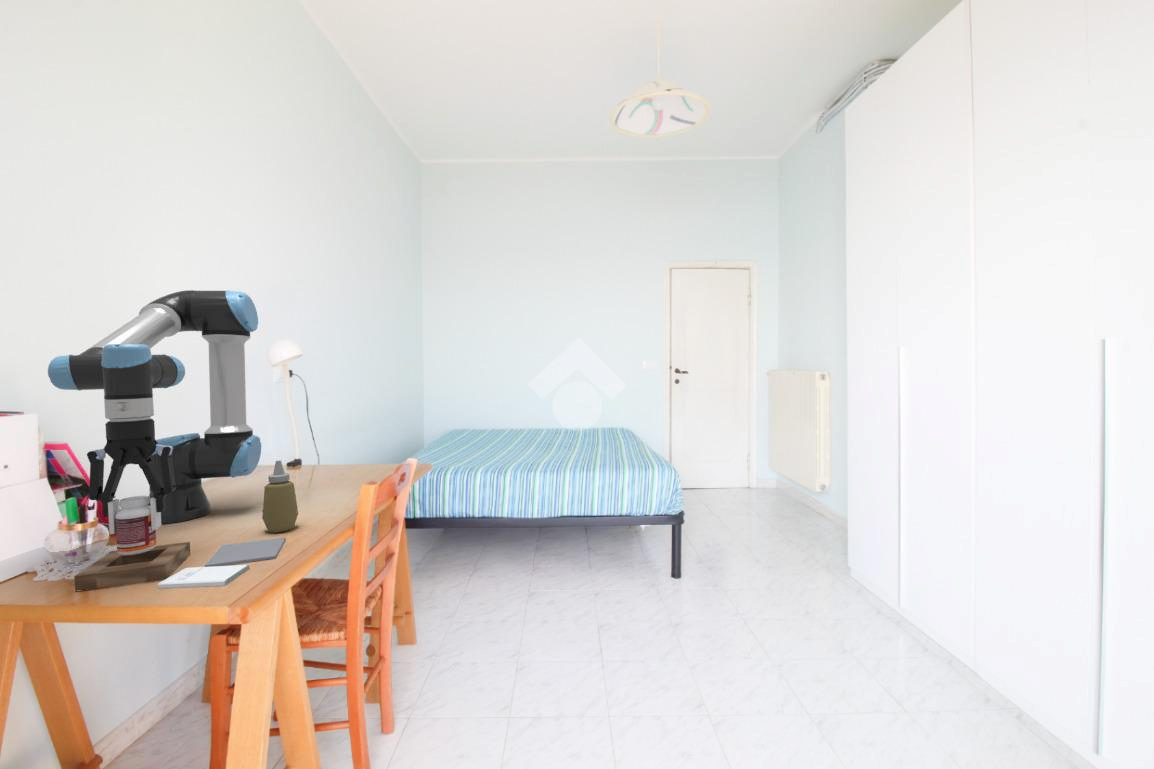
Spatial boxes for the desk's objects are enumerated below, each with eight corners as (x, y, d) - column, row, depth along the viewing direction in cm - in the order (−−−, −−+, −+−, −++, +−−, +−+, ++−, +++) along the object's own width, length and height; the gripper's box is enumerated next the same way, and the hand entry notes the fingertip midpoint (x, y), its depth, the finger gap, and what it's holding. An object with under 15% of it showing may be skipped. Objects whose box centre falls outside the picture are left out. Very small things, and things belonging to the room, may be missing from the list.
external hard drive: (224, 588, 97) (157, 591, 96) (249, 571, 105) (187, 573, 104) (224, 580, 97) (157, 583, 96) (249, 563, 105) (187, 566, 104)
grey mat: (222, 547, 118) (222, 545, 118) (285, 539, 122) (285, 537, 122) (204, 568, 105) (204, 565, 105) (275, 558, 110) (275, 555, 110)
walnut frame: (111, 564, 108) (111, 551, 108) (190, 554, 113) (189, 541, 113) (75, 591, 95) (74, 576, 95) (165, 579, 100) (165, 564, 100)
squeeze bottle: (306, 525, 133) (303, 458, 132) (280, 535, 125) (277, 464, 125) (281, 523, 135) (279, 457, 135) (255, 533, 127) (252, 463, 127)
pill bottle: (157, 550, 104) (155, 498, 104) (117, 559, 100) (114, 504, 99) (155, 543, 108) (152, 492, 108) (116, 550, 104) (113, 498, 104)
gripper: (58, 423, 96) (65, 542, 97) (180, 418, 103) (185, 529, 104) (80, 419, 103) (86, 530, 104) (192, 415, 110) (197, 518, 111)
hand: (136, 529), depth 104 cm, fingers closed on pill bottle, 6 cm apart
